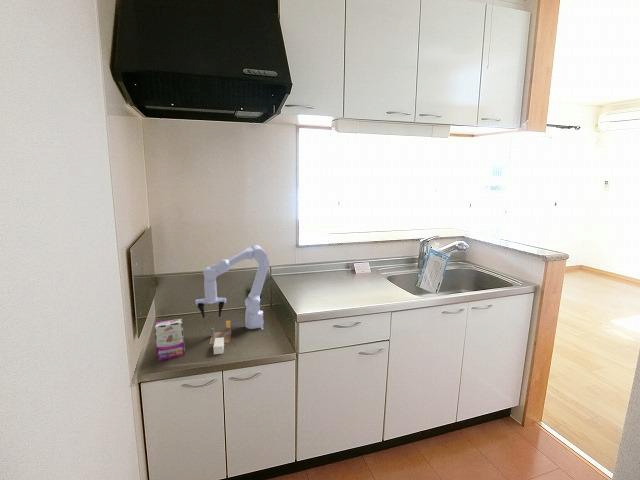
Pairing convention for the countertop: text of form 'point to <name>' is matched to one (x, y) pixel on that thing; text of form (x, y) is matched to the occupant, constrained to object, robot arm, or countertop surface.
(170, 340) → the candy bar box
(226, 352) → the countertop surface
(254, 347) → the countertop surface
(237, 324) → the gray and orange bar
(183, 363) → the countertop surface
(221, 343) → the white block
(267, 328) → the countertop surface
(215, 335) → the brown stand with pegs
